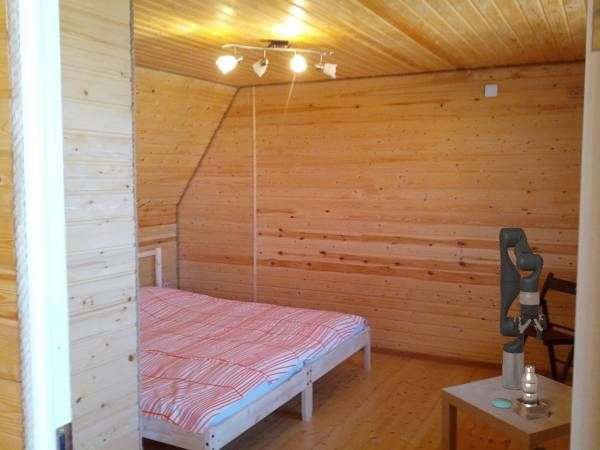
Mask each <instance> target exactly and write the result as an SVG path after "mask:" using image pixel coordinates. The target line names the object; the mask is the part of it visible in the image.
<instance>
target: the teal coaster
mask: <svg viewBox="0 0 600 450" xmlns="http://www.w3.org/2000/svg"><path fill="white" fill-rule="evenodd" d="M491 406H493V407H495V408H497V409H503V410H504V409H505V410H506V409H507V410H508V409H511V399H509V398H508V399H507V398H503V397H502V398H500V397H497V398H493V399H492V400H491Z"/></svg>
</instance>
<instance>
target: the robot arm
mask: <svg viewBox="0 0 600 450" xmlns="http://www.w3.org/2000/svg"><path fill="white" fill-rule="evenodd" d="M498 240H499V241H498V242H499V244H498V245H499V257H500V259H499V260H500V268H499V270H500V271H499V272H500V273H499V279H500V280H499V282H500V284H499V290H500V294H499V295H500V313H499V332H500V335H501V336H502V337H508V338H509V337H510V338H511V337H513V338H515V339H513V340H510V341H507V342H505V343H504V344H503V345H502V365H501V366H502V367H501V368H502V369H501V370H502V372H501V373H502V374H501V375H502V377H501V378H502V381H501V382H502V383H501V384H502V386H503V387H504V388H505V389H507V390H514V391H517V390H518V391H519V390H523V387H522V376H523V374H524V373H525V343H524V342H525V340H524V339H525V330H526V329H527V328H530V327H535V329H536V331H535V333H536V335H535V339H536V340H538V341H541V340H542V338H543V331H544V330H546V329H547V315H545V314H542V313H540V288H539V287H540V286H539V284H540V278H541V274H542V271H543V267H544V257H543V256H542V255H541V254H540V253H534V251H533V250H532V249H531V247H530V245H529V241H528V238H527V235H526V232H525V230H524V229H523V228H522V227H502V228H500V230H499V234H498ZM508 248H510V249H511V248H513V254H514V256H515V258H516V259H515V263H514V262H513V260H512V259H511V257H510V255H509V250H508ZM520 271H521V272H532V273H531V274H530V275H526V276H522V275H521V273H520ZM518 297H519V314H520V315H519V316H508V314H509V311H510V308H511V306H512V305H513V303H514V301H515V300H516V299H517V298H518Z"/></svg>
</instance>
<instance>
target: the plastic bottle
mask: <svg viewBox="0 0 600 450" xmlns="http://www.w3.org/2000/svg"><path fill="white" fill-rule="evenodd" d="M535 370H536V369H535V366H534V365H524V374H523V376H522V387H523V389H522V397H523V398H522V404H523V405H525V406H527V407H532V406H538V405H537V399H538V398H537V393H538V392H537V391H538V390H537V389H538V384H539V378H538V376H537V375H536V373H535V372H536V371H535Z"/></svg>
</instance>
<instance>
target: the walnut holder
mask: <svg viewBox="0 0 600 450" xmlns="http://www.w3.org/2000/svg"><path fill="white" fill-rule="evenodd" d="M522 398H523V396H522V397H515V398H511V399H510V400H511V408H510V410H511V411H512V412H513V413H515V414H517V415H518V416H520V417H521V418H523V419H524V420H525V421H530V420H537V419H538V420H539V419H545V418H549V405H548V404H547V403H545V402H543V401H542V400H539V399H538V398H537V405H538V406H532V407H527V406H525V405H523V404H522Z"/></svg>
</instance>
